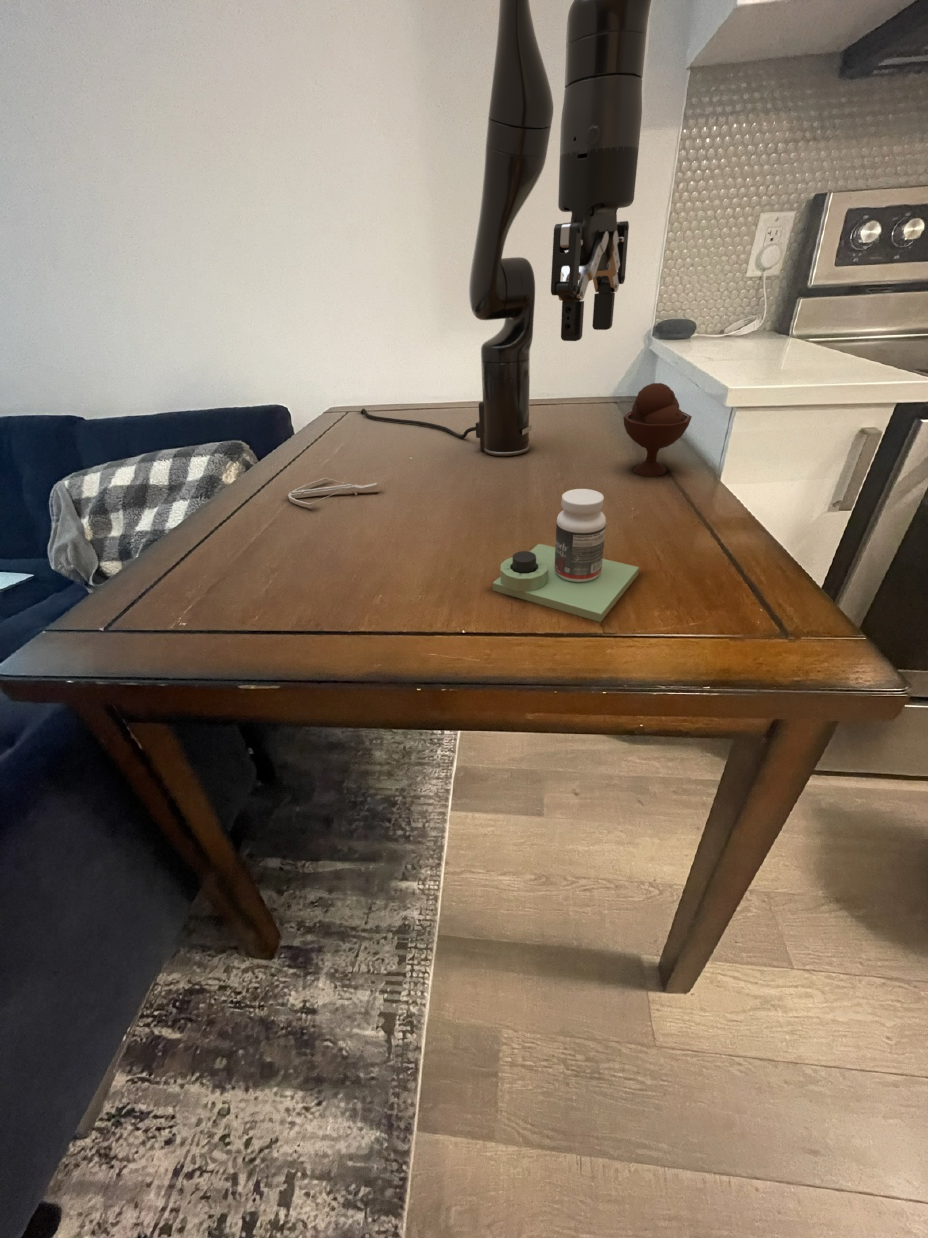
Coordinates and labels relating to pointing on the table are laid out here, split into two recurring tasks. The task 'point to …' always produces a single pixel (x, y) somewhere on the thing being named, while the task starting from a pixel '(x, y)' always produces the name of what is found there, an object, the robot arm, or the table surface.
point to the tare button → (524, 562)
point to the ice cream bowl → (655, 424)
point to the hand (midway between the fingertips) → (587, 334)
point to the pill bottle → (580, 536)
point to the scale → (566, 585)
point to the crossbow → (327, 491)
